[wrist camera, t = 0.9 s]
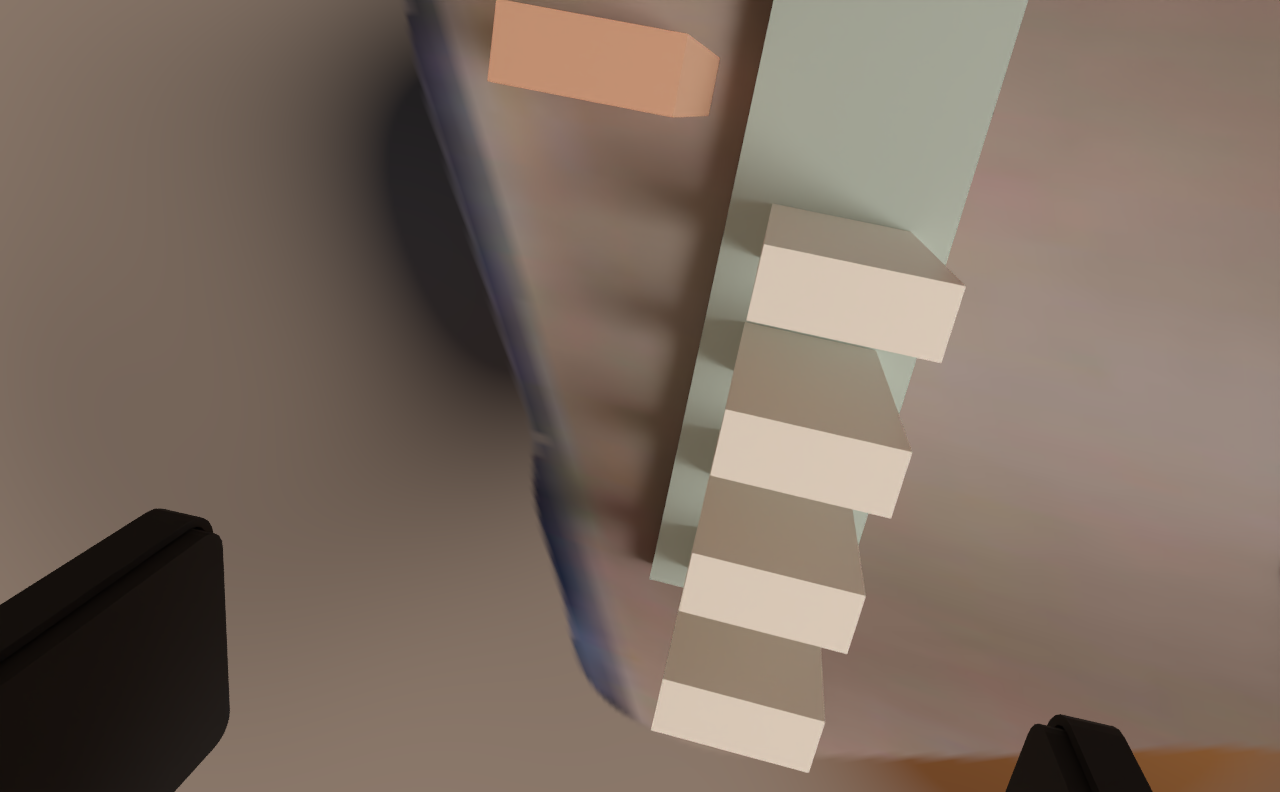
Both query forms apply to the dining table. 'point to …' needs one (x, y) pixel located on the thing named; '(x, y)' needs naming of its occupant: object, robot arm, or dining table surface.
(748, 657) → the domino
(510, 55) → the domino
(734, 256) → the board
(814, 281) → the domino
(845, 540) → the domino
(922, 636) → the dining table surface
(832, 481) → the domino
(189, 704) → the robot arm
